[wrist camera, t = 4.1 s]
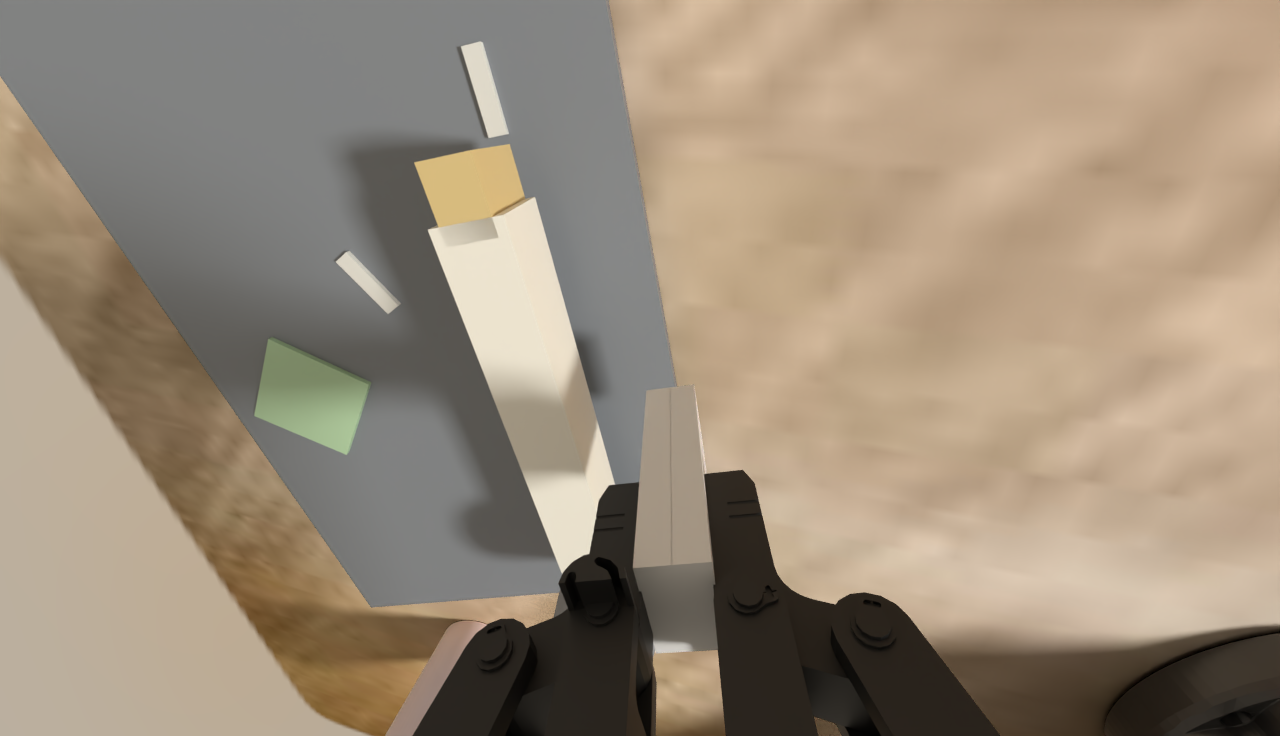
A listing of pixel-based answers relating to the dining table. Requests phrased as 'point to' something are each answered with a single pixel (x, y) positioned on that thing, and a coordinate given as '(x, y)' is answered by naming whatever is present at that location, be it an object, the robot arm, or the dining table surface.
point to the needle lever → (521, 337)
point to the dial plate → (360, 241)
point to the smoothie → (433, 677)
